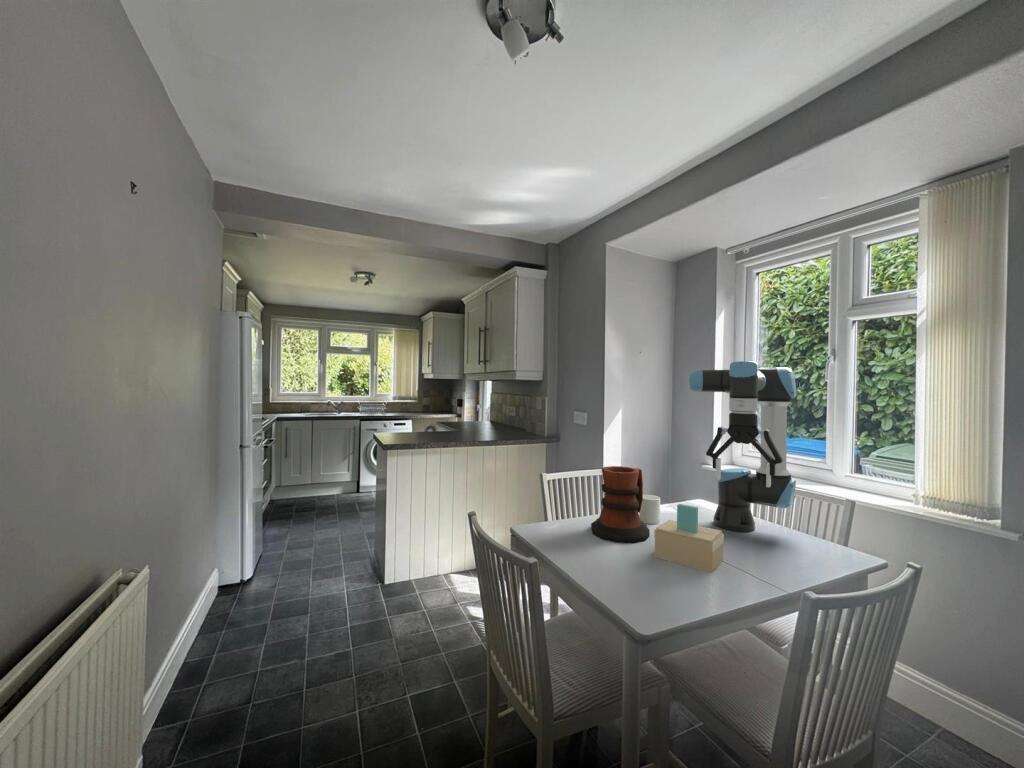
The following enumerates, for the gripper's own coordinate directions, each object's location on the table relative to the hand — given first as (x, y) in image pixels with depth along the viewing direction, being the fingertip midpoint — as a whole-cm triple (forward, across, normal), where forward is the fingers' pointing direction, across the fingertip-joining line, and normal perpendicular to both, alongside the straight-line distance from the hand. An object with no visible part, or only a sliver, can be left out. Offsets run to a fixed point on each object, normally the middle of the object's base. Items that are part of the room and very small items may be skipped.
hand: (742, 482), depth 127 cm
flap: (+19, -16, -1) cm, 25 cm away
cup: (+28, -43, +32) cm, 61 cm away
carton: (+28, -16, +2) cm, 32 cm away
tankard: (+28, -44, +11) cm, 54 cm away
